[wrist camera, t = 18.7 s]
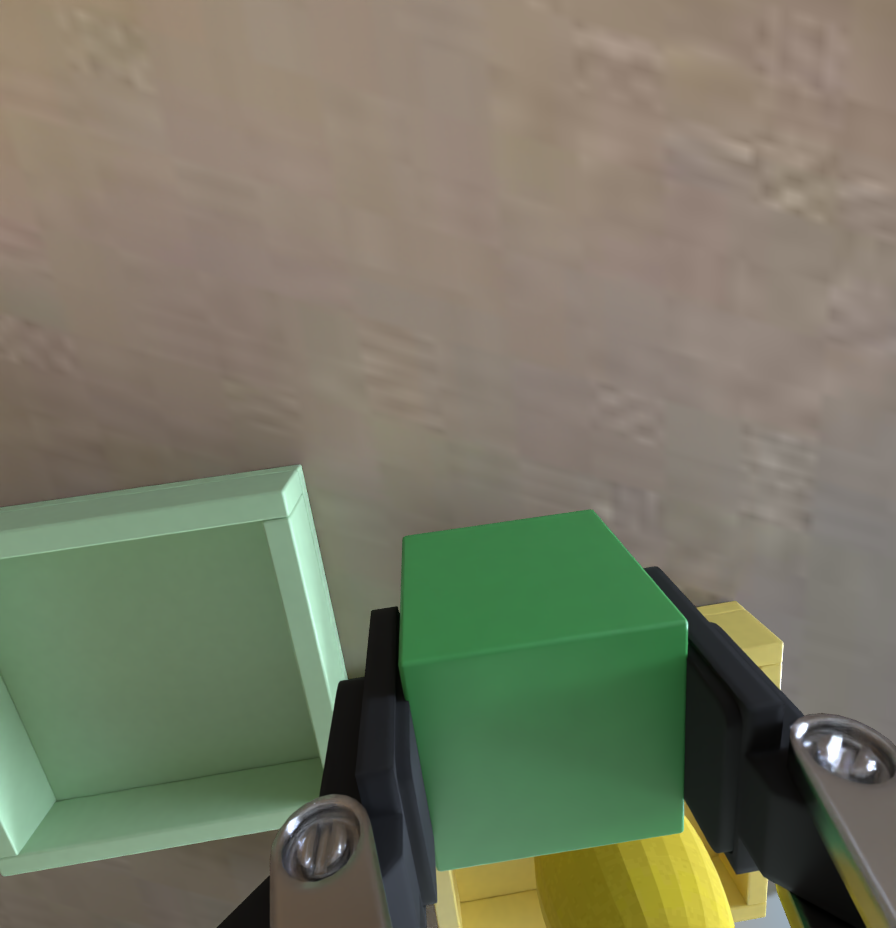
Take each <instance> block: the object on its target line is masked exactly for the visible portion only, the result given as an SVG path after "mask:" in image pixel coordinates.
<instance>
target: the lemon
mask: <svg viewBox="0 0 896 928" xmlns="http://www.w3.org/2000/svg"><path fill="white" fill-rule="evenodd" d="M534 865H535V878H536V887H537V894H538V899H539V904H540V908H541V912H542V916H543V919H544V922H545V925H546V928H735V926H734V922H733V918H732V914H731V910H730V907H729V903H728V900H727V897H726V894H725V891H724V888H723V886H722V883H721V880H720V878H719V876H718V873H717V871H716V869H715V867H714V865H713V862H712V860H711V858H710V856H709V854H708V852H707V850H706V848H705V846H704V844H703V842H702V841H701V839H700V837H699V836H698V834H697V832H696V831H695V829H694V828H693V826H692V825H691V823H690V822H689V820H688V819H687V818H686V816H685V815H684V831H683V832H682V833H678V834H672V835H666V836H660V837H653V838H647V839H641V840H635V841H628V842H622V843H616V844H610V845H604V846H597V847H591V848H585V849H579V850H572V851H566V852H560V853H554V854H548V855H541V856H535V857H534Z"/></svg>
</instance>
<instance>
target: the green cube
mask: <svg viewBox="0 0 896 928" xmlns="http://www.w3.org/2000/svg"><path fill="white" fill-rule="evenodd" d="M687 658H688V621H687V619H686V618H685V617H684V616H683V615H682V613H681V612H680V611H679V610H678V609H677V608H676V606H675V605H674V604H673V603H672V602H671V601H670V599H669V598H668V597H667V596H666V595H665V593H664V592H663V591H662V590H661V589H660V588H659V586H658V585H657V584H656V583H655V582H654V581H653V579H652V578H651V577H650V576H649V575H648V574H647V572H646V571H645V570H644V569H643V568H642V567H641V565H640V564H639V563H638V562H637V561H636V560H635V558H634V557H633V556H632V555H631V554H630V553H629V551H628V550H627V549H626V548H625V547H624V546H623V544H622V543H621V542H620V541H619V540H618V539H617V537H616V536H615V535H614V534H613V533H612V532H611V530H610V529H609V528H608V527H607V526H606V525H605V523H604V522H603V521H602V520H601V519H600V518H599V516H598V515H597V514H596V513H595V512H594V511H593V510H583V511H576V512H569V513H562V514H555V515H548V516H541V517H534V518H527V519H521V520H514V521H507V522H500V523H493V524H486V525H479V526H472V527H465V528H458V529H451V530H444V531H437V532H430V533H423V534H416V535H409V536H405V537H403V540H402V569H401V600H400V630H399V661H398V666H399V672H400V677H401V683H402V688H403V693H404V698H405V700H406V701H409V705H410V710H411V716H412V721H413V726H414V732H415V737H416V743H417V748H418V754H419V759H420V765H421V770H422V776H423V781H424V786H425V792H426V797H427V803H428V808H429V814H430V819H431V825H432V830H433V836H434V845H435V863H436V868H437V870H438V871H440V872H442V871H448V870H454V869H461V868H467V867H473V866H479V865H485V864H492V863H498V862H504V861H510V860H516V859H523V858H529V857H535V856H541V855H548V854H554V853H560V852H566V851H572V850H579V849H585V848H591V847H597V846H604V845H610V844H616V843H622V842H628V841H635V840H641V839H647V838H653V837H660V836H666V835H672V834H678V833H682V832H683V831H684V766H685V717H686V668H687Z"/></svg>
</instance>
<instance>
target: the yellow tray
mask: <svg viewBox="0 0 896 928" xmlns="http://www.w3.org/2000/svg"><path fill="white" fill-rule="evenodd" d="M696 608H697V609H698V610H699V611H700V612H701V613H702V615H703V616H704V617H705V618H706V619H707V620H708V621H709V622H713V623H716V624H717V625H719V626H720V627H721V628H722V629H723V630H724V631H725V632H726V633H727V634H728V635H729V636H730V637H731V638H732V639H733V640H734V642H735V643H736V644H737V645H738V646H739V647H740V648H741V649H742V650H743V651H744V652H745V653H746V654H747V655H748V656H749V657H750V658H751V660H752V661H753V662H754V663H755V664H756V665H757V666H758V667H759V668H760V669H761V670H762V671H763V672H764V673H765V674H766V675H767V676H768V678H769V679H770V680H771V681H772V682H773V683H774V684H775V685H776V686H777V687H778V688H779V689H780V688H781V673H782V664H781V662H782V660H783V645H784V644H783V642H782V641H781V640H780V639H779V638H778V637H777V636H775V635H774V634H773V633H772V632H771V631H770V630H768V629H767V628H766V627H765V626H764V625H763V624H762V623H760V622H759V621H758V620H757V619H756V618H755V617H754V616H752V615H751V614H750V613H749V612H748V611H746V610H745V609H744V608H743V607H742V606H741V605H740V604H739V603H738V602H736V601H732V602H726V603H720V604H713V605H707V606H701V607H696ZM684 815H685V816H686V818H687V819H688V820H689V822H690V823H691V825H692V826H693V828H694V829H695V831H696V832H697V834H698V836H699V837H700V839H701V841H702V842H703V844H704V846H705V848H706V850H707V852H708V854H709V856H710V858H711V860H712V862H713V865H714V867H715V869H716V871H717V873H718V876H719V878H720V880H721V883H722V886H723V888H724V891H725V894H726V897H727V900H728V903H729V907H730V910H731V914H732V918H733V922H740V921H745V920H750V919H756V918H761V917H765V916H766V900H767V885H768V879H766V878H765V877H763V876H762V874H761V872H760V871H755V872H749V873H744V874H738V875H736V873H735V872H734V870H733V868H732V866H731V865H730V863H729V861H728V859H727V858H726V856H725V854H724V852H723V853H716V852H714V851H713V849H712V848H711V847H710V845H709V843H708V841H707V840H706V838H705V836H704V834H703V832H702V831H701V829H700V827H699V825H698V823H697V822H696V820H695V818H694V816H693V814H692V813H691V811H690V809H689V807H688V805H687V803H686V802H685V800H684ZM436 880H437V903H435V904H434V906H435V912H436V917H437V922H438V928H546V925H545V922H544V919H543V916H542V912H541V908H540V904H539V899H538V894H537V887H536V878H535V865H534V857H529V858H523V859H516V860H510V861H504V862H498V863H492V864H485V865H479V866H473V867H467V868H461V869H454V870H448V871H442V872H440V871H438V870H437V868H436Z"/></svg>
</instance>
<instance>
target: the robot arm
mask: <svg viewBox="0 0 896 928" xmlns="http://www.w3.org/2000/svg"><path fill="white" fill-rule="evenodd" d="M643 569H644V570H645V571H646V572H647V574H648V575H649V576H650V577H651V578H652V579H653V581H654V582H655V583H656V584H657V585H658V586H659V588H660V589H661V590H662V591H663V592H664V593H665V595H666V596H667V597H668V598H669V599H670V601H671V602H672V603H673V604H674V605H675V606H676V608H677V609H678V610H679V611H680V612H681V613H682V615H683V616H684V617H685V618H686V619H687V621H688V658H687V668H686V717H685V766H684V800H685V802H686V803H687V805H688V807H689V809H690V811H691V813H692V814H693V816H694V818H695V820H696V822H697V823H698V825H699V827H700V829H701V831H702V832H703V834H704V836H705V838H706V840H707V841H708V843H709V845H710V847H711V848H712V849H713V851H714V852H716V853H723V852H724V854H725V856H726V858H727V859H728V861H729V863H730V865H731V866H732V868H733V870H734V872H735V873H736V875H738V874H744V873H749V872H755V871H760V872H761V874H762V876H763V877H765V878H766V879H768V880H770V881H772V882H774V883H775V885H776V889H777V893H778V896H779V898H780V901H781V903H782V906H783V908H784V911H785V913H786V916H787V919H788V921H789V924H790V926H791V928H896V746H895V745H894V744H893V743H892V742H891V741H890V740H889V739H888V738H886V737H885V736H883V735H882V734H881V733H879V732H878V731H876V730H875V729H873V728H871V727H869V726H867V725H865V724H863V723H861V722H859V721H857V720H853V719H850V718H847V717H843V716H840V715H834V714H825V713H818V714H808V715H806V716H804V715H803V713H802V712H801V711H800V710H799V709H798V708H797V707H796V706H795V705H794V704H793V703H792V702H791V701H790V700H789V699H788V698H787V697H786V695H785V694H784V693H783V692H782V691H781V690H780V689H779V688H778V687H777V686H776V685H775V684H774V683H773V682H772V681H771V680H770V679H769V678H768V676H767V675H766V674H765V673H764V672H763V671H762V670H761V669H760V668H759V667H758V666H757V665H756V664H755V663H754V662H753V661H752V660H751V658H750V657H749V656H748V655H747V654H746V653H745V652H744V651H743V650H742V649H741V648H740V647H739V646H738V645H737V644H736V643H735V642H734V640H733V639H732V638H731V637H730V636H729V635H728V634H727V633H726V632H725V631H724V630H723V629H722V628H721V627H720V626H719V625H717V624H716V623H713V622H709V621H708V620H707V619H706V618H705V617H704V616H703V615H702V613H701V612H700V611H699V610H698V609H697V608H696V607H695V606H694V605H693V604H692V603H691V602H690V600H689V599H688V598H687V597H686V596H685V595H684V594H683V593H682V592H681V591H680V590H679V589H678V587H677V586H676V585H675V584H674V583H673V582H672V581H671V580H670V579H669V578H668V577H667V576H666V575H665V573H664V572H663V571H662V570H661V569H660V568H658V567H649V568H643ZM399 630H400V613H399V610H398V607H397V606H396V607H390V608H384V609H377V610H372V611H371V618H370V628H369V638H368V648H367V659H366V669H365V677H361V678H355V679H349V680H342V681H340V682H339V683H338V687H337V691H336V697H335V703H334V709H333V715H332V721H331V727H330V733H329V740H328V746H327V752H326V758H325V764H324V770H323V776H322V782H321V788H320V794H319V797H318V798H315V799H314V800H312V801H310V802H308V803H306V804H304V805H302V806H301V807H300V808H299V809H297V810H296V811H295V812H294V813H293V814H291V815H290V816H289V818H288V819H287V820H286V821H285V823H284V824H283V825H282V827H281V828H280V829H279V831H278V833H277V836H276V838H275V840H274V842H273V844H272V850H271V856H270V875H269V876H268V877H267V878H266V879H265V880H264V881H263V882H262V883H261V884H260V885H259V886H258V887H257V888H256V889H255V890H254V891H253V892H252V893H251V894H250V895H249V896H248V897H247V898H246V899H245V900H244V901H243V902H242V903H241V904H240V905H239V906H238V907H237V908H236V909H235V910H234V911H233V912H232V913H231V914H230V915H229V916H228V917H227V918H226V919H225V920H224V921H223V922H222V923H221V924H220V925H219V926H218V927H217V928H427V923H426V905H430V904H435V903H437V880H436V863H435V845H434V836H433V830H432V825H431V819H430V814H429V808H428V803H427V797H426V792H425V786H424V781H423V776H422V770H421V765H420V759H419V754H418V748H417V743H416V737H415V732H414V726H413V721H412V716H411V710H410V705H409V701H406V700H405V698H404V693H403V688H402V683H401V677H400V672H399V666H398V661H399Z"/></svg>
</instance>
